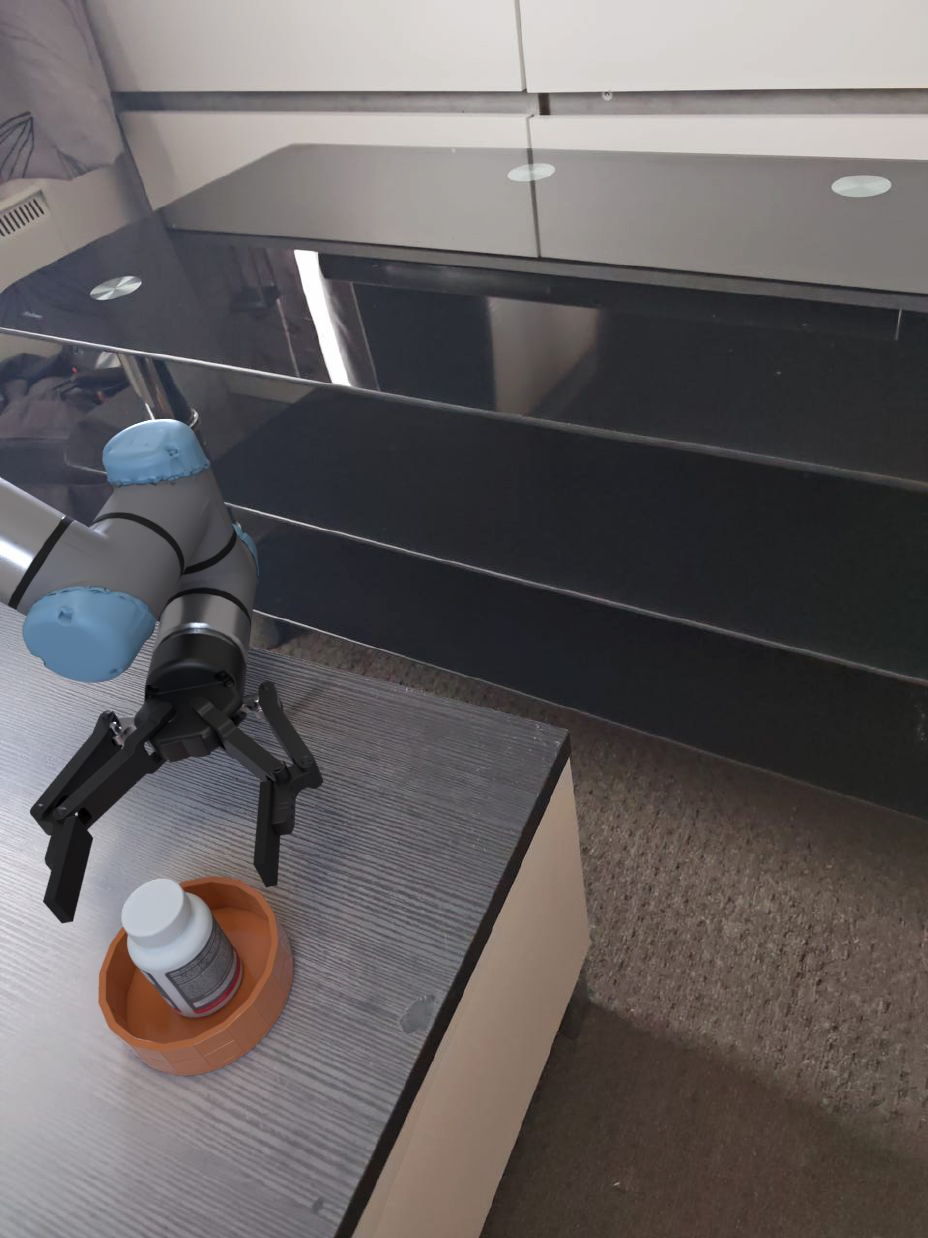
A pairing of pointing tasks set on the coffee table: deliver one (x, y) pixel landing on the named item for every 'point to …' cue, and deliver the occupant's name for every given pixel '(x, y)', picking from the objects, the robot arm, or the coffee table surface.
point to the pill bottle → (181, 948)
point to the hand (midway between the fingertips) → (161, 894)
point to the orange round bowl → (229, 1029)
